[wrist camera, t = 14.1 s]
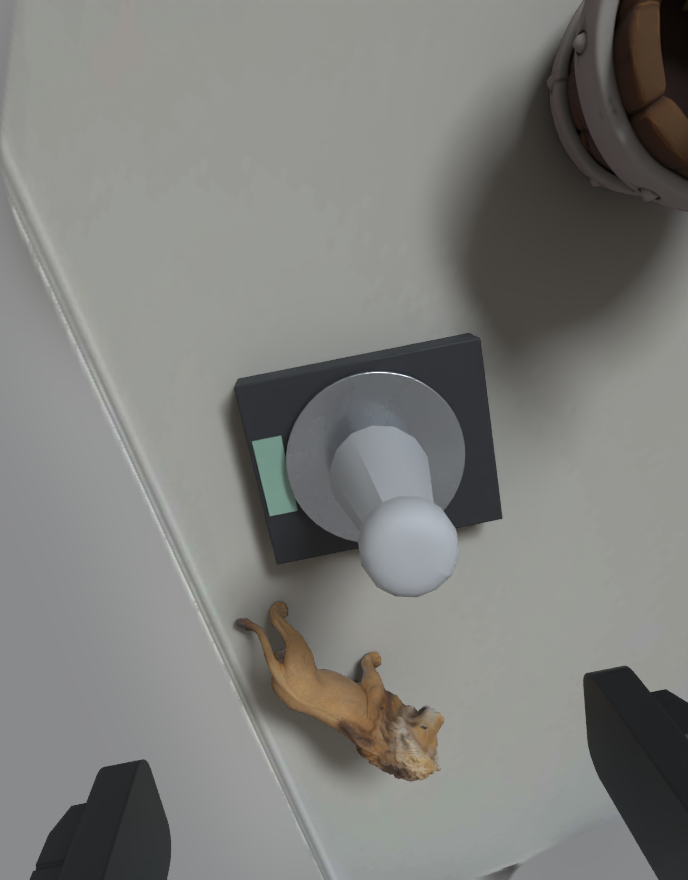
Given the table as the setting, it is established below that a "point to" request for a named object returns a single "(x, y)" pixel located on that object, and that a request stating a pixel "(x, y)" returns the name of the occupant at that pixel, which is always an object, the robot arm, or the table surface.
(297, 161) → the table surface
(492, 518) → the scale
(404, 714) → the lion figurine
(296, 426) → the scale pan
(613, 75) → the flowerpot
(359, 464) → the salt shaker
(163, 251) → the table surface
